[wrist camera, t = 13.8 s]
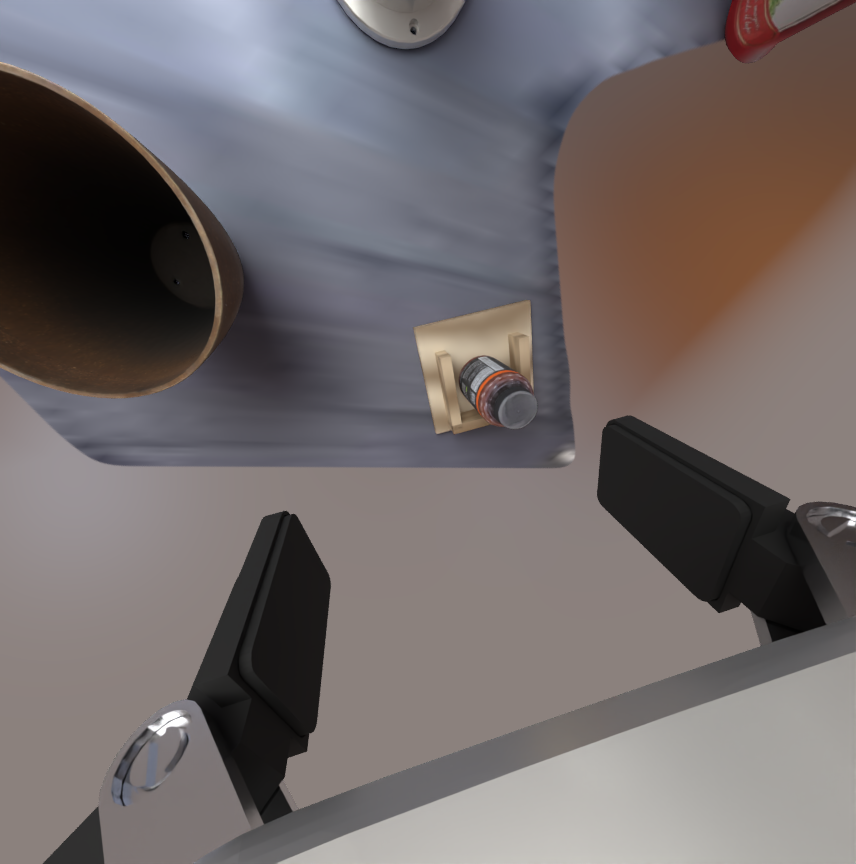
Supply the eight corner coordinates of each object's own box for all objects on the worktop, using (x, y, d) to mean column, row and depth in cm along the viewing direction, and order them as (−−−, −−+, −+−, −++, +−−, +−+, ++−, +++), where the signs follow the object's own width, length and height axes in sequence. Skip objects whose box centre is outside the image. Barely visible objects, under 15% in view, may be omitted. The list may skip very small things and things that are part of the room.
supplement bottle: (509, 380, 40) (557, 415, 30) (472, 408, 41) (507, 450, 31) (487, 343, 38) (532, 368, 28) (448, 373, 38) (477, 408, 28)
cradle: (413, 327, 36) (418, 333, 33) (526, 299, 37) (543, 302, 34) (435, 430, 43) (441, 444, 39) (530, 405, 44) (545, 416, 40)
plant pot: (314, 303, 33) (278, 324, 19) (198, 371, 34) (82, 439, 20) (203, 132, 26) (15, -34, 12) (60, 225, 27) (-271, 171, 13)
